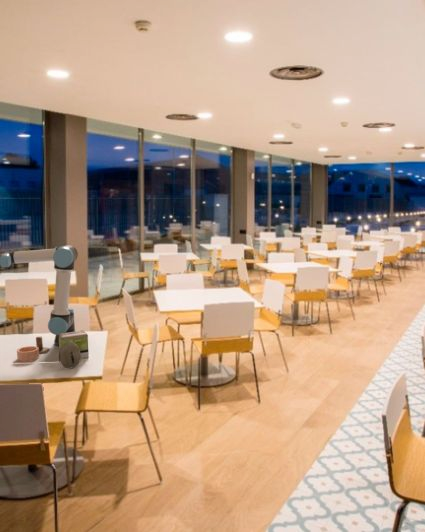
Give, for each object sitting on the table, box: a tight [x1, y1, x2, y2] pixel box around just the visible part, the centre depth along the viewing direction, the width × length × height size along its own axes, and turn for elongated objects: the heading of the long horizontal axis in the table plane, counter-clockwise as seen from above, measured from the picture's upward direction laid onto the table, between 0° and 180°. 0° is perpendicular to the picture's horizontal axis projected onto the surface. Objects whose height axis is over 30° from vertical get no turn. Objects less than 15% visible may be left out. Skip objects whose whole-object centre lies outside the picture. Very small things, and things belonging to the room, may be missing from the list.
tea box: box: [58, 330, 90, 360], centre depth 323 cm, size 15×10×15 cm, turn 117°
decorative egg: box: [58, 341, 81, 369], centre depth 305 cm, size 12×12×15 cm
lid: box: [35, 336, 51, 355], centre depth 336 cm, size 11×11×9 cm
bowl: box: [16, 345, 40, 362], centre depth 323 cm, size 12×12×6 cm
